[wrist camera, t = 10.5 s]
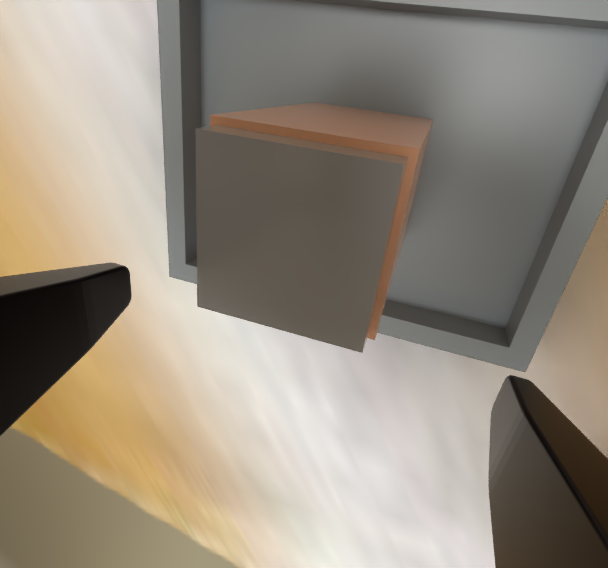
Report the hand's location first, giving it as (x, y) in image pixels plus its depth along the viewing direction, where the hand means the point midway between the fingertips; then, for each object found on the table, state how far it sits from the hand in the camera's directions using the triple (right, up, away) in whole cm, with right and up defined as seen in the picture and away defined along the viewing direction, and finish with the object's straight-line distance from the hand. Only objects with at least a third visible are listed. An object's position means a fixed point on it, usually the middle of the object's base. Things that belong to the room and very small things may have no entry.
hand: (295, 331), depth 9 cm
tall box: (+3, +6, +9) cm, 11 cm away
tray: (+3, +6, +9) cm, 12 cm away
